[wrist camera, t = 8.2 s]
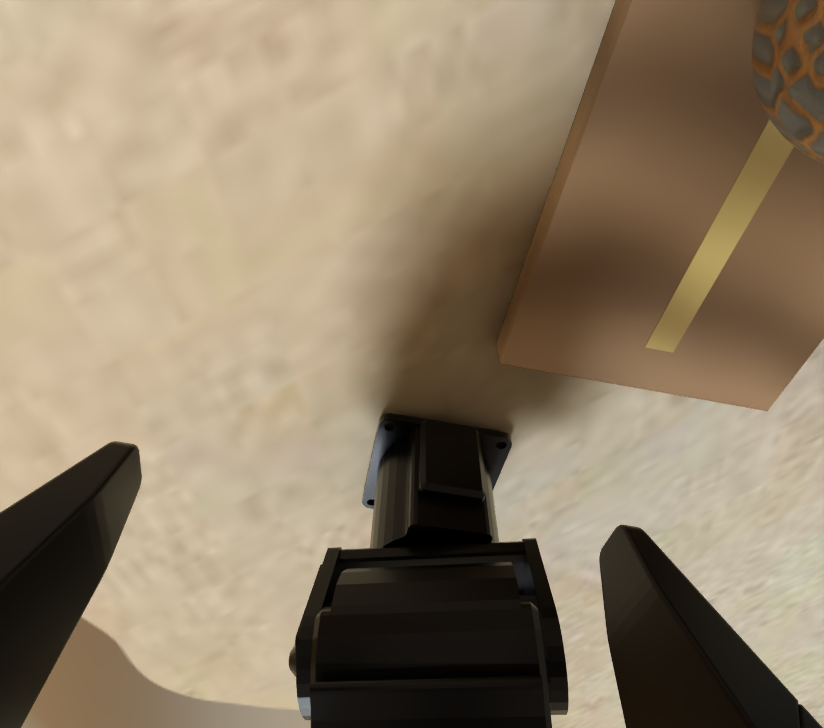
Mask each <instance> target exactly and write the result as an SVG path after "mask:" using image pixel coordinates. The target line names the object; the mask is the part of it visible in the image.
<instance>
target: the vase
mask: <svg viewBox="0 0 824 728" xmlns="http://www.w3.org/2000/svg"><path fill="white" fill-rule="evenodd" d="M752 70H753V78H754V84H755V88H756V92H757V94H758V97H759V100H760V102H761V104H762V106H763V108H764V110H765V112H766V114H767V116H768V118H769V119H770V121H771V122H772V123H773V125H774V126H775V127H776V128H777V130H778V131H779V132H780V133H781V135H782V136H783V137H784V138H785V139H786V140H787V141H788V142H790V143H791V144H792V145H793V146H795V147H796V148H797V149H799V150H800V151H802V152H803V153H805V154H806V155H808V156H809V157H811V158H813V159H815V160H817V161H818V162H820V163H822V164H824V0H763V1H762V4H761V6H760V9H759V13H758V16H757V20H756V24H755V28H754V34H753V41H752Z"/></svg>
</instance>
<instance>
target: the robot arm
mask: <svg viewBox="0 0 824 728" xmlns="http://www.w3.org/2000/svg"><path fill="white" fill-rule="evenodd" d="M387 423H391V424H393V425H386V424H387ZM502 441H503V443H498V442H502ZM511 445H512V443H511V438H510V436H509V435H508V434H507V433H504V432H499V431H493V430H487V429H481V428H475V427H469V426H463V425H457V424H451V423H445V422H439V421H433V420H427V419H421V418H414V417H408V416H402V415H396V414H385V415H383V416H382V417H381V418H380V420H379V425H378V429H377V434H376V438H375V443H374V447H373V452H372V457H371V461H370V466H369V470H368V475H367V479H366V484H365V488H364V493H363V500H362V503H363V505H364V506H365V507H367V508H371V509H374V512H373V523H372V533H371V543H370V548H366V549H344V550H342V548H341V547H339V548H328V550H327V552H326V555H325V558H324V561H323V564H321V565H320V568H319V571H318V574H317V577H316V579H315V582H314V585H313V588H312V591H311V594H310V597H309V600H308V603H307V605H306V608H305V611H304V614H303V617H302V620H301V623H300V626H299V629H298V632H297V635H296V640H295V645H294V647H293V649H292V650H291V652H290V656H289V668H290V670H291V671H292V673H293V674H294V675H295V676H296V685H297V698H298V703H299V709H300V712H301V714H302V717H303V718H304V719H305V720H311V728H552V723H551V715H567V712H568V681H567V670H566V661H565V654H564V647H563V641H562V635H561V629H560V624H559V619H558V615H557V611H556V607H555V604H554V600H553V597H552V593H551V590H550V586H549V583H548V579H547V576H546V572H545V569H544V565H543V562H542V559H541V555H540V552H539V548H538V545H537V541H536V538H533V539H522V541H518V542H499V538H498V531H497V523H496V515H495V507H494V500H493V492H492V491H493V489H494V486H495V484H496V482H497V479H498V477H499V475H500V472H501V470H502V467H503V465H504V463H505V460H506V458H507V456H508V453H509V451H510V449H511ZM141 479H142V474H141V464H140V455H139V449H138V447H137V446H136V445H134V444H130V443H123V442H117V441H114V442H111V443H108V444H107V445H105V446H104V447H102V448H100V449H99V450H97V451H96V452H94V453H93V454H91V455H90V456H88V457H86V458H85V459H83V460H82V461H80V462H79V463H77V464H75V465H74V466H72V467H71V468H69V469H68V470H66V471H65V472H63V473H61V474H60V475H58V476H57V477H55V478H54V479H52V480H50V481H49V482H47V483H46V484H44V485H43V486H41V487H39V488H38V489H36V490H35V491H33V492H32V493H30V494H29V495H27V496H25V497H24V498H22V499H21V500H19V501H18V502H16V503H14V504H13V505H11V506H10V507H8V508H7V509H5V510H4V511H2V512H0V728H21V726H22V725H23V723H24V721H25V719H26V717H27V715H28V714H29V712H30V710H31V708H32V706H33V704H34V702H35V701H36V699H37V697H38V695H39V693H40V691H41V689H42V688H43V686H44V684H45V682H46V680H47V679H48V677H49V675H50V673H51V671H52V669H53V667H54V666H55V664H56V662H57V660H58V658H59V656H60V654H61V653H62V651H63V649H64V647H65V645H66V643H67V642H68V640H69V638H70V636H71V634H72V632H73V631H74V629H75V627H76V625H77V623H78V621H79V619H80V618H81V616H82V614H83V612H84V610H85V609H86V607H87V605H88V603H89V601H90V599H91V597H92V596H93V594H94V592H95V590H96V588H97V586H98V585H99V583H100V581H101V579H102V577H103V575H104V573H105V571H106V569H107V567H108V564H109V562H110V560H111V557H112V555H113V553H114V550H115V548H116V545H117V543H118V540H119V538H120V535H121V533H122V530H123V528H124V525H125V523H126V521H127V518H128V516H129V513H130V511H131V508H132V506H133V503H134V501H135V498H136V496H137V493H138V491H139V488H140V485H141ZM371 499H373V500H371ZM600 571H601V581H602V591H603V600H604V610H605V619H606V628H607V636H608V642H609V647H610V653H611V657H612V662H613V667H614V672H615V676H616V681H617V686H618V691H619V696H620V700H621V705H622V710H623V715H624V719H625V724H626V728H822V726H821V725H820V724H819V723H818V722H817V721H816V720H815V719H814V718H813V717H812V715H811V714H810V713H809V712H808V711H807V710H806V709H805V708H804V707H803V706H802V705H801V704H798V700H797V699H796V698H795V697H794V696H793V695H792V694H791V692H790V691H789V690H788V689H787V688H786V687H785V686H784V685H783V684H782V683H781V681H780V680H779V679H778V678H777V677H776V676H775V675H774V674H773V673H772V671H771V670H770V669H769V668H768V667H767V666H766V665H765V664H764V663H763V662H762V660H761V659H760V658H759V657H758V656H757V655H756V654H755V653H754V652H753V651H752V649H751V648H750V647H749V646H748V645H747V644H746V643H745V642H744V641H743V639H742V638H741V637H740V636H739V635H738V634H737V633H736V632H735V631H734V630H733V628H732V627H731V626H730V625H729V624H728V623H727V622H726V621H725V620H724V619H723V617H722V616H721V615H720V614H719V613H718V612H717V611H716V610H715V609H714V608H713V606H712V605H711V604H710V603H709V602H708V601H707V600H706V599H705V598H704V596H703V595H702V594H701V593H700V592H699V591H698V590H697V589H696V588H695V587H694V585H693V584H692V583H691V582H690V581H689V580H688V579H687V578H686V577H685V576H684V574H683V573H682V572H681V571H680V570H679V569H678V568H677V567H676V566H675V564H674V563H673V562H672V561H671V560H670V559H669V558H668V557H667V556H666V555H665V553H664V552H663V551H662V550H661V549H660V548H659V547H658V546H657V545H656V544H655V542H654V541H653V540H652V539H651V538H650V537H649V536H648V535H647V534H646V533H645V532H644V531H643V530H642V529H641V528H638V527H634V526H627V525H620V526H618V527H617V528H616V529H615V530H614V532H613V533H612V535H611V536H610V537H609V539H608V540H607V542H606V543H605V545H604V546H603V548H602V550H601V552H600Z"/></svg>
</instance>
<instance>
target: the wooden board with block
mask: <svg viewBox="0 0 824 728" xmlns="http://www.w3.org/2000/svg"><path fill="white" fill-rule="evenodd" d="M762 1H763V0H616V2H615V5H614V8H613V10H612V13H611V16H610V19H609V22H608V25H607V28H606V30H605V33H604V36H603V39H602V42H601V45H600V48H599V50H598V53H597V56H596V59H595V62H594V65H593V68H592V70H591V73H590V76H589V79H588V82H587V85H586V88H585V90H584V93H583V96H582V99H581V102H580V105H579V108H578V111H577V113H576V116H575V119H574V122H573V125H572V128H571V131H570V133H569V136H568V139H567V142H566V145H565V148H564V151H563V153H562V156H561V159H560V162H559V165H558V168H557V171H556V173H555V176H554V179H553V182H552V185H551V188H550V191H549V193H548V196H547V199H546V202H545V205H544V208H543V211H542V214H541V216H540V219H539V222H538V225H537V228H536V231H535V234H534V236H533V239H532V242H531V245H530V248H529V251H528V254H527V256H526V259H525V262H524V265H523V268H522V271H521V274H520V276H519V279H518V282H517V285H516V288H515V291H514V294H513V296H512V299H511V302H510V305H509V308H508V311H507V314H506V317H505V319H504V322H503V325H502V328H501V331H500V334H499V337H498V339H497V342H496V346H497V351H498V356H499V361H500V364H505V365H511V366H516V367H522V368H528V369H533V370H539V371H545V372H550V373H556V374H561V375H567V376H573V377H578V378H584V379H590V380H595V381H601V382H606V383H612V384H618V385H623V386H629V387H635V388H640V389H646V390H651V391H657V392H663V393H668V394H674V395H680V396H685V397H691V398H696V399H702V400H708V401H713V402H719V403H724V404H730V405H736V406H741V407H747V408H753V409H758V410H764V411H768V410H769V408H770V407H771V406H772V404H773V403H774V402H775V401H776V399H777V398H778V397H779V395H780V394H781V393H782V391H783V390H784V389H785V388H786V386H787V385H788V384H789V382H790V381H791V380H792V379H793V377H794V376H795V375H796V373H797V372H798V371H799V369H800V368H801V367H802V366H803V364H804V363H805V362H806V360H807V359H808V358H809V356H810V355H811V354H812V353H813V351H814V350H815V349H816V347H817V346H818V345H819V343H820V342H821V341H822V340H823V338H824V164H822V163H820V162H818V161H817V160H815V159H813V158H811V157H809V156H808V155H806V154H805V153H803V152H802V151H800V150H799V149H797V148H796V147H795V146H793V145H792V144H791V143H790V142H788V141H787V140H786V139H785V138H784V137H783V136H782V135H781V133H780V132H779V131H778V130H777V128H776V127H775V126H774V125H773V123H772V122H771V121H770V119H769V118H768V116H767V114H766V112H765V110H764V108H763V106H762V104H761V102H760V100H759V97H758V94H757V92H756V88H755V84H754V78H753V70H752V41H753V34H754V28H755V24H756V20H757V16H758V13H759V9H760V6H761V4H762Z"/></svg>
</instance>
